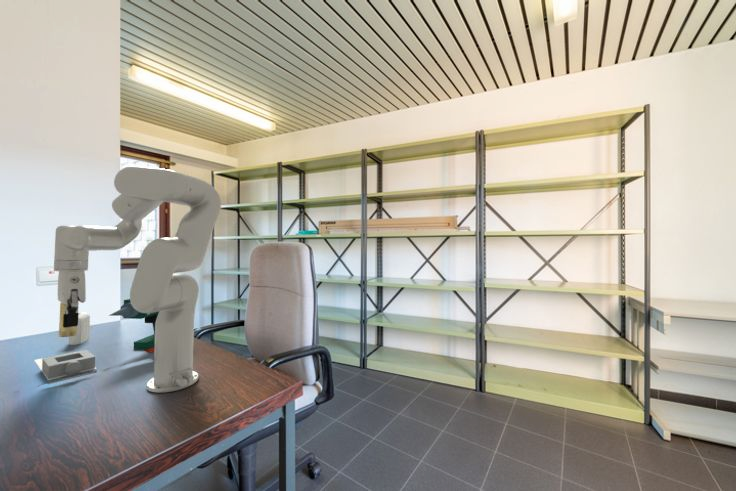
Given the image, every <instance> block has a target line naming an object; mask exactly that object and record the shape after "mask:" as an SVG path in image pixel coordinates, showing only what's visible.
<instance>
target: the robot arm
mask: <svg viewBox="0 0 736 491" xmlns="http://www.w3.org/2000/svg"><path fill="white" fill-rule="evenodd" d="M113 185H114V188H115V190H116V191H117V192H118V193H119V195H118V196H117V197H116V198H114V200H112V203H111V207H112V210H113V212H114V213H115V214H116V215H117V217H119V218H120V219H122V220H121V221H120V222H118V223H117V224H116V225H114V226H101V225H87V224H85V225H81V224H80V225H66V224H65V225H59V226H57V227H56V229H55V235H54V236H55V237H54V238H55V239H54V257H53V258H54V260H53V271H54V272H58V277H57V278H58V279H57V300H58V301H59V302H60V303H63V304H65V314H64V315H63V327H64V328H66V327H73V326H77V325H78V313H79V304H78V302H79V303H82V304H84V303H85V302H86V299H87V298H86V297H87V296H86V294H87V293H86V289H87V288H86V273H85V272H86V271H87V272H88V270H89V254H90V252H89V251H95V252H96V251H117V250H121V249H122V248H124V247H126V246H128V245H129V244H130V243H132V242H133V241H134V240H135V239H136V238H137V237H138V236H139V234H140V233H141V230H142V227H143V226H142V225H143V223H142V220H143V219H145V218H146V217H148V215H149V214H151V213H152V212H153V211H154V210H156V209H157V208H158V207H160V206H161V205H162V204H163V203H164V202H165V203H168V204H170V203H171V204H176V205H181V206H187V207H189V208H190V209H189V210H188V211H187V212H186V213H185V214H184V215H183V217H182V218H181V219H180V221H179V223H178V228H177V230H176V233H175V235H174V236H173V237H159V238H155V239H154V240H151V241H150V242H148V243H147V244H146V246H145V247H144V248H143V250H142V253H141V255H140V258H139V261H138V264H137V267H136V269H135V270H136V271H135V274H134V277H133V280H132V283H131V288H130V291H129V299H130V301H131V304H132V306H133V308H134V309H135V310H137V311H139V312H141V313H154V312H158V311H159V314H158V316H157V319H156V324H155V348H154V351H153V352H154V354H153V356H154V357H153V377H152V378H150V380H148V382H147V383H146V389H147V391H149V392H152V393H156V394H157V393H158V394H159V393H161V394H162V393H170V392H175V391H180V390H183V389H185V388H188V387H190V386H192V385H195V384H196V382H197V381H199V373H198V372H197V371H195V370H193V369H194V337H195V331H194V330H195V314H196V312H195V311H196V307H197V306H196V305H197V302H198V297H199V284H198V282H197V280H196V279H195V278H194V277H193V276H192V275H189V274H186V272H190V271H194V270H197V269H198V268H200V267H201V265H202V264H203V262H204V259H205V257H206V256H205V255H206V252H207V249H208V246H209V243H210V241H211V238H212V233H213V230H214V227H215V225H216V222H217V221H218V218H219V217H220V216H219V215H220V213H221V208H222V201H221V197H220V193H219V192H218V190H216V188H215V186H212V185H211V184H210V183H208V182H207V181H204V180H203V179H200V178H199V177H195V176H191V175H189V174H185V173H181V172H178V171H175V170H172V169H165V168H159V167H147V166H137V165H131V166H130V165H129V166H125V167H123V168H122V169H120V170H119V171H117V173H116V174H115V176H114V180H113ZM68 302H71V303H68ZM69 305H71V306H69ZM68 306H69V307H68Z"/></svg>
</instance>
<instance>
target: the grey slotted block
mask: <svg viewBox="0 0 736 491" xmlns="http://www.w3.org/2000/svg"><path fill="white" fill-rule="evenodd" d="M33 361H34V362H35V363H36V365H37V366H38V368H39V370H40V371H41V372H42V374H43V375H44V376H45V378H46V379H47V381H50V382H47V385H51V384H55V383H60V382H62V381H63V382H64V381H67V380H71V379H75V378H79V377H83V376H84V377H85V376H86V375H87V376H88V375H92V374H96V373H97V367H96V355H94V354H93V353H92V352H91V351H89V350H88V349H83V350H78V351H74V352H68V353H64V354H63V353H62V354H57V355H52V356H49V357H42V358H38V359H34V360H33ZM92 370H93V371H92ZM88 371H89V372H88ZM90 371H91V372H90ZM81 373H82V374H81ZM67 376H70V377H67ZM63 377H66V378H63ZM59 378H61V379H59ZM54 379H55V380H54ZM56 379H57V380H56ZM51 380H53V381H51Z"/></svg>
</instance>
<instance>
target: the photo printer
mask: <svg viewBox="0 0 736 491" xmlns="http://www.w3.org/2000/svg"><path fill="white" fill-rule="evenodd" d="M90 326H91V316H90V313H88V312H87V311H80V312H79V311H78V325H77V335H74V336H70V337H68V346H75V345H81V344H84V343H85V342H87V341H89V340H90V334H91V333H90V330H91V329H90V328H91V327H90Z"/></svg>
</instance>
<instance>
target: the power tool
mask: <svg viewBox="0 0 736 491" xmlns="http://www.w3.org/2000/svg"><path fill="white" fill-rule="evenodd" d="M158 314H159V311H158V312H154V313H141V312H139V311H137V310H135V309H134V308H133V306H132V304H131V301H130V298H127V299H124V300H123V304H122V305H121V306H120V309H119V310H117V311H115V312H113V313H111V314H109V315H108V316H113V317H114V316H117V317H118V316H122V317H123V319H128V320H129V319H134V320H135V319H136V320H142V319H144V324H152V328H153V333H152V334H151V335H148V336H146V337H144V338H141V339H138V340H135V341H134V342H133V349H134V350H143V351H144V352H146V353H147V354H149V353H152V352H154V348H155V324H156V319H157V316H158Z"/></svg>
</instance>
